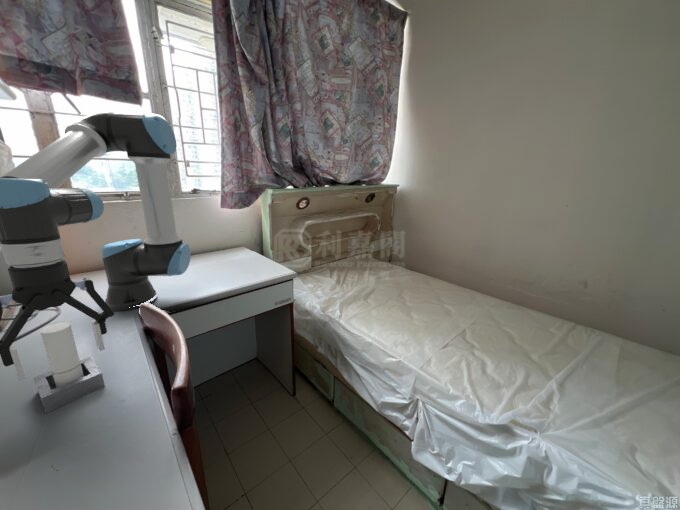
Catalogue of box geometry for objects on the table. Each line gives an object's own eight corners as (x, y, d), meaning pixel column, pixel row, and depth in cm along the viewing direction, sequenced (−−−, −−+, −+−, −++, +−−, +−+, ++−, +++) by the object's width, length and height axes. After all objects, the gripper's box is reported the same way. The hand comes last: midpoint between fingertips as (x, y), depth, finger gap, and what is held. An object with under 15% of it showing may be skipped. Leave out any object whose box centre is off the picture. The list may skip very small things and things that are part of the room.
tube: (90, 381, 60) (76, 322, 57) (73, 396, 56) (56, 333, 52) (71, 381, 60) (55, 322, 56) (52, 396, 56) (33, 333, 52)
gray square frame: (37, 391, 57) (33, 377, 56) (92, 369, 64) (89, 357, 63) (46, 413, 52) (41, 398, 51) (104, 386, 59) (101, 373, 58)
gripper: (-76, 283, 39) (-29, 405, 45) (120, 254, 58) (137, 342, 64) (-74, 273, 44) (-30, 385, 49) (109, 248, 62) (125, 331, 68)
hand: (64, 361), depth 56 cm, fingers open, 11 cm apart
